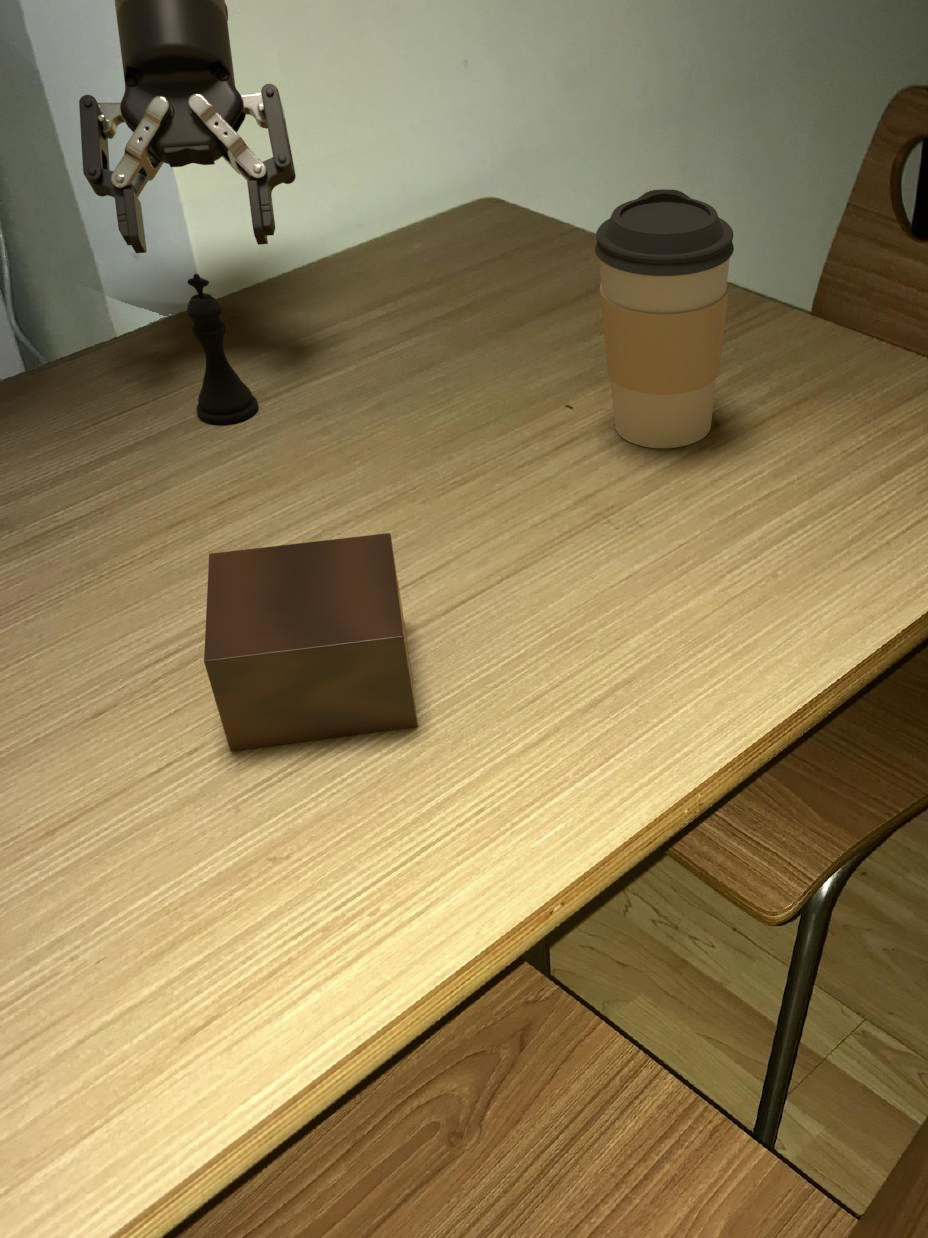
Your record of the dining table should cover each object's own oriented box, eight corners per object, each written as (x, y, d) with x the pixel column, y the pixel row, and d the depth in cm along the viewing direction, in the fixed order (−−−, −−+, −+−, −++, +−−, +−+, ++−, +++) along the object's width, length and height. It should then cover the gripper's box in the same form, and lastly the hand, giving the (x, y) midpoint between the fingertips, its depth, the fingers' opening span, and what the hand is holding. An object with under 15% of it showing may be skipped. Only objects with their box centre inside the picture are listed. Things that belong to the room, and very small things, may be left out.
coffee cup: (728, 456, 92) (739, 234, 82) (598, 457, 93) (591, 235, 82) (723, 395, 99) (732, 181, 88) (601, 395, 99) (595, 182, 88)
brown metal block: (230, 751, 71) (203, 661, 67) (232, 641, 78) (208, 553, 74) (418, 726, 72) (403, 636, 68) (404, 620, 79) (390, 532, 75)
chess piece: (212, 394, 100) (179, 258, 93) (267, 398, 99) (238, 263, 92) (187, 422, 97) (151, 284, 90) (244, 427, 96) (213, 289, 89)
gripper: (51, -11, 90) (81, 227, 90) (265, -23, 92) (294, 211, 92) (84, 55, 98) (112, 274, 98) (282, 43, 99) (308, 259, 99)
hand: (200, 244), depth 95 cm, fingers open, 8 cm apart
